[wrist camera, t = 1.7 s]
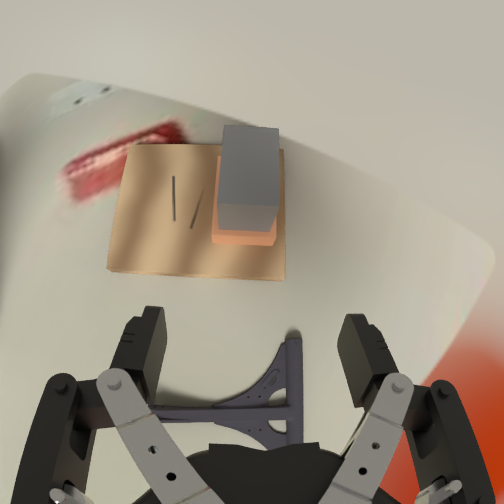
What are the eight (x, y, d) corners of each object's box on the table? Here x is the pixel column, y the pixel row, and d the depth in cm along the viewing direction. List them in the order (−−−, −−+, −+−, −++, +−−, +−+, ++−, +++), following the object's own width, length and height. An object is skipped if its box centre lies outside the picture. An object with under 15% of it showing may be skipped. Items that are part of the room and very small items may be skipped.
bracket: (147, 338, 28) (140, 339, 26) (300, 338, 30) (306, 338, 27) (156, 470, 25) (150, 481, 22) (300, 469, 26) (306, 479, 23)
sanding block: (212, 243, 29) (208, 209, 21) (218, 168, 31) (217, 119, 24) (272, 246, 29) (288, 213, 22) (272, 172, 32) (285, 124, 24)
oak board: (112, 271, 29) (106, 268, 28) (133, 152, 33) (130, 144, 31) (281, 280, 30) (284, 277, 29) (281, 157, 34) (283, 149, 33)
